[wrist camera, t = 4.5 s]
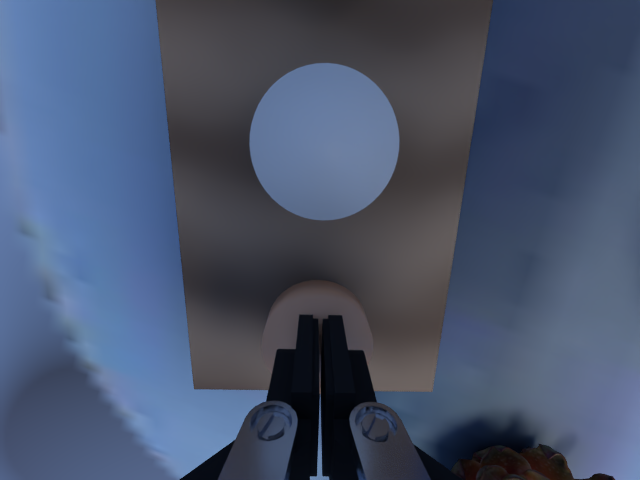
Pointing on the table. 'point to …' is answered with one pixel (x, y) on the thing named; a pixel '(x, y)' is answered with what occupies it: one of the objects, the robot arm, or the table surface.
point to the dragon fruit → (517, 465)
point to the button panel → (302, 233)
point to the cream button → (324, 141)
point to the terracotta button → (320, 303)
